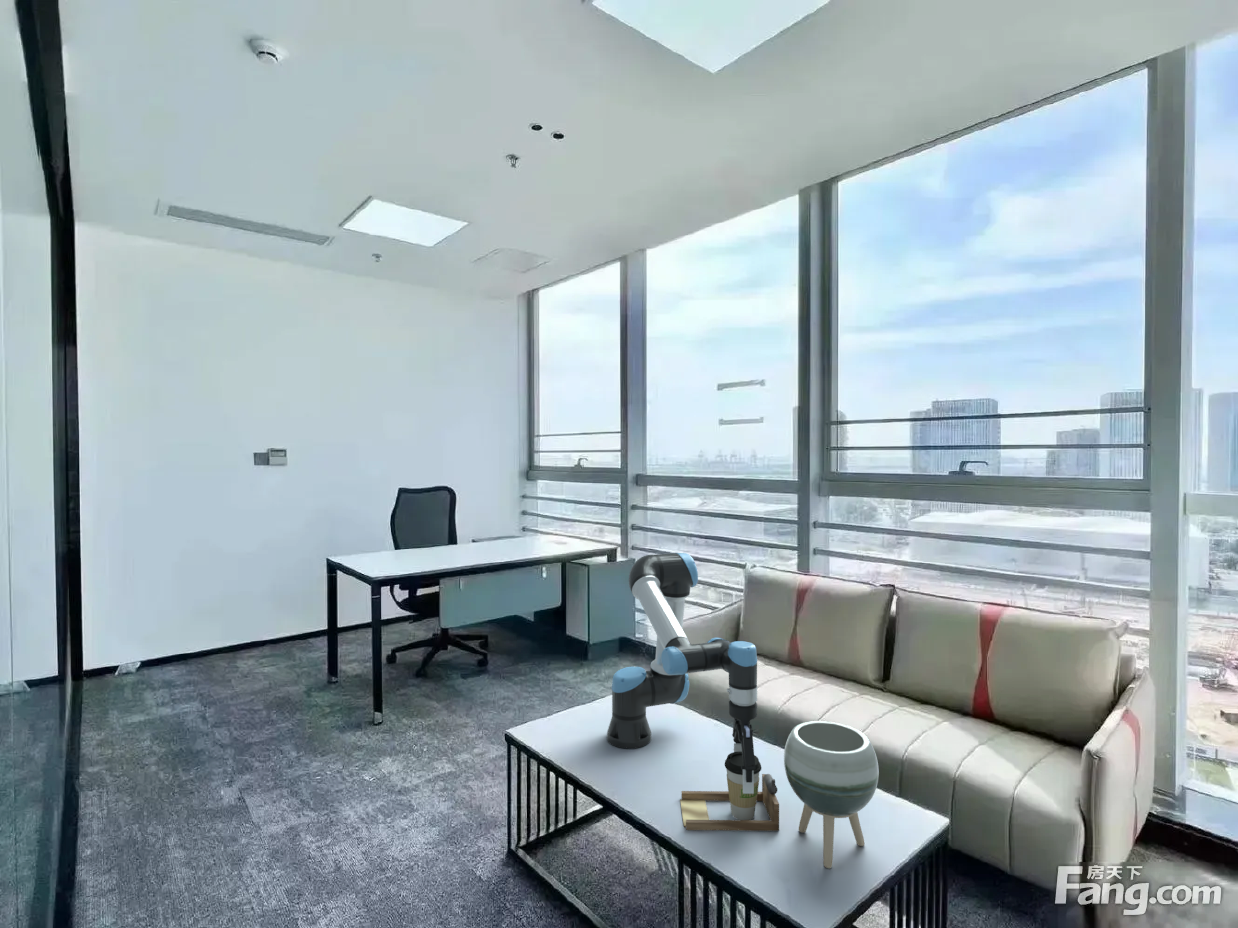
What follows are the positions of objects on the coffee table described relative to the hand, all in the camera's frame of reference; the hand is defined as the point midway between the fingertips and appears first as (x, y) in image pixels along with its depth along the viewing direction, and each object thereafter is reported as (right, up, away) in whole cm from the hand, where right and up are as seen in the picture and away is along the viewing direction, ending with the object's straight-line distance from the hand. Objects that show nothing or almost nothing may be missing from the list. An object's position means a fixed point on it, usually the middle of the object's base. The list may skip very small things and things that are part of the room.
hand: (743, 779), depth 167 cm
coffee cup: (0, -10, 0) cm, 10 cm away
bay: (-4, -10, +1) cm, 10 cm away
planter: (+19, -10, -14) cm, 25 cm away
